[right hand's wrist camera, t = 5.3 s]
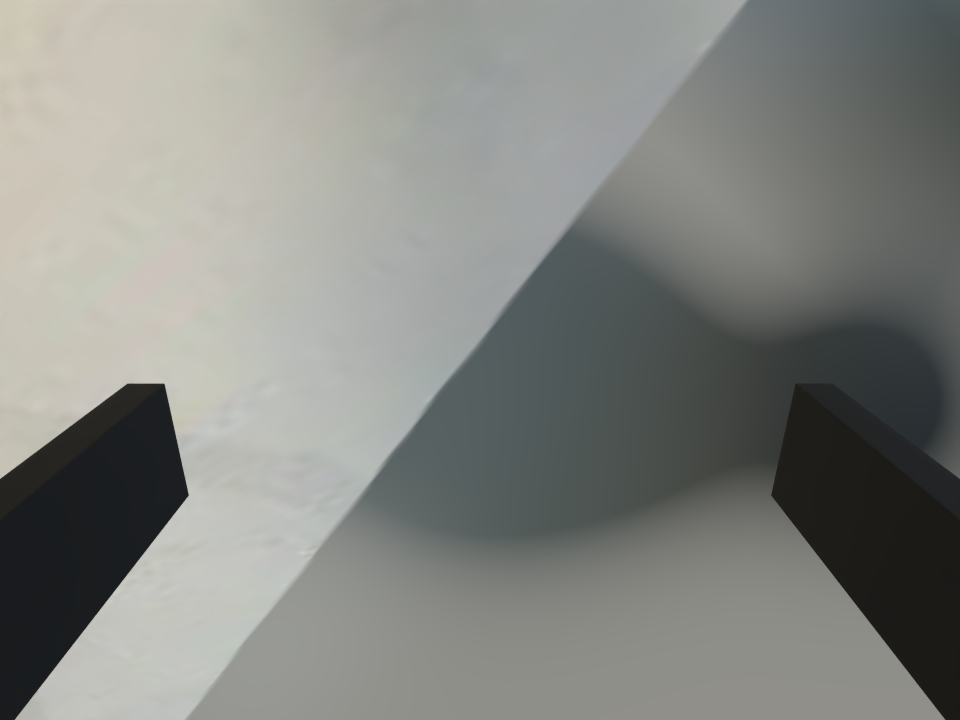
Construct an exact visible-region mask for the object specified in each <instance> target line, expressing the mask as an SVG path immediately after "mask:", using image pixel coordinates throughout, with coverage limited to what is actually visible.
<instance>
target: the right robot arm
mask: <svg viewBox="0 0 960 720" xmlns="http://www.w3.org/2000/svg"><path fill="white" fill-rule="evenodd" d="M188 496H189V494H188V490H187V485H186V481H185V476H184V471H183V467H182V462H181V458H180V453H179V448H178V444H177V439H176V435H175V430H174V425H173V421H172V416H171V412H170V407H169V403H168V398H167V393H166V389H165V384H127V385H125V386H124V387H123V388H121V389H120V390H118V391H117V392H116V393H114V394H113V395H112V396H110V397H109V398H108V399H106V400H105V401H104V402H102V403H101V404H100V405H98V406H97V407H96V408H94V409H93V410H92V411H90V412H89V413H88V414H86V415H85V416H84V417H82V418H81V419H80V420H78V421H77V422H76V423H74V424H73V425H72V426H70V427H69V428H68V429H66V430H65V431H64V432H62V433H61V434H60V435H58V436H57V437H56V438H54V439H53V440H52V441H50V442H49V443H48V444H46V445H45V446H44V447H42V448H41V449H40V450H38V451H37V452H36V453H34V454H33V455H32V456H30V457H29V458H28V459H26V460H25V461H24V462H22V463H21V464H20V465H18V466H17V467H16V468H14V469H13V470H12V471H10V472H9V473H8V474H6V475H5V476H4V477H2V478H1V479H0V720H15V719H16V717H17V716H18V715H19V713H20V712H21V711H22V710H23V708H24V707H25V706H26V704H27V703H28V702H29V701H30V699H31V698H32V697H33V695H34V694H35V693H36V692H37V690H38V689H39V688H40V686H41V685H42V684H43V683H44V681H45V680H46V679H47V677H48V676H49V675H50V673H51V672H52V671H53V670H54V668H55V667H56V666H57V664H58V663H59V662H60V661H61V659H62V658H63V657H64V655H65V654H66V653H67V652H68V650H69V649H70V648H71V646H72V645H73V644H74V643H75V641H76V640H77V639H78V637H79V636H80V635H81V634H82V632H83V631H84V630H85V628H86V627H87V626H88V625H89V623H90V622H91V621H92V619H93V618H94V617H95V615H96V614H97V613H98V612H99V610H100V609H101V608H102V606H103V605H104V604H105V603H106V601H107V600H108V599H109V597H110V596H111V595H112V594H113V592H114V591H115V590H116V588H117V587H118V586H119V585H120V583H121V582H122V581H123V579H124V578H125V577H126V576H127V574H128V573H129V572H130V570H131V569H132V568H133V567H134V565H135V564H136V563H137V561H138V560H139V559H140V557H141V556H142V555H143V554H144V552H145V551H146V550H147V548H148V547H149V546H150V545H151V543H152V542H153V541H154V539H155V538H156V537H157V536H158V534H159V533H160V532H161V530H162V529H163V528H164V527H165V525H166V524H167V523H168V521H169V520H170V519H171V518H172V516H173V515H174V514H175V512H176V511H177V510H178V509H179V507H180V506H181V505H182V503H183V502H184V501H185V500H186V498H187V497H188ZM771 496H772V497H773V498H774V500H775V501H776V502H777V503H778V505H779V506H780V507H781V509H782V510H783V511H784V512H785V514H786V515H787V516H788V517H789V519H790V520H791V521H792V523H793V524H794V525H795V526H796V528H797V529H798V530H799V532H800V533H801V534H802V536H803V537H804V538H805V539H806V541H807V542H808V543H809V544H810V546H811V547H812V548H813V550H814V551H815V552H816V554H817V555H818V556H819V557H820V559H821V560H822V561H823V563H824V564H825V565H826V566H827V568H828V569H829V570H830V572H831V573H832V574H833V576H834V577H835V578H836V579H837V581H838V582H839V583H840V585H841V586H842V587H843V588H844V590H845V591H846V592H847V593H848V595H849V596H850V597H851V599H852V600H853V601H854V603H855V604H856V605H857V606H858V608H859V609H860V610H861V612H862V613H863V614H864V615H865V617H866V618H867V619H868V621H869V622H870V623H871V624H872V626H873V627H874V628H875V630H876V631H877V632H878V634H879V635H880V636H881V637H882V639H883V640H884V641H885V643H886V644H887V645H888V646H889V648H890V649H891V650H892V651H893V653H894V654H895V655H896V657H897V658H898V659H899V661H900V662H901V663H902V664H903V666H904V667H905V668H906V670H907V671H908V672H909V673H910V675H911V676H912V677H913V679H914V680H915V681H916V683H917V684H918V685H919V686H920V688H921V689H922V690H923V691H924V693H925V694H926V695H927V697H928V698H929V699H930V700H931V702H932V703H933V704H934V706H935V707H936V708H937V710H938V711H939V712H940V713H941V715H942V716H943V717H944V719H945V720H960V479H959V478H958V477H956V476H955V475H954V474H952V473H951V472H950V471H948V470H947V469H946V468H944V467H943V466H942V465H940V464H939V463H938V462H936V461H935V460H934V459H932V458H931V457H930V456H928V455H927V454H926V453H924V452H923V451H922V450H920V449H919V448H918V447H916V446H915V445H914V444H912V443H911V442H910V441H908V440H907V439H906V438H904V437H903V436H902V435H900V434H899V433H898V432H896V431H895V430H894V429H892V428H891V427H890V426H888V425H887V424H886V423H884V422H883V421H881V420H880V419H879V418H878V417H876V416H875V415H874V414H872V413H871V412H870V411H868V410H867V409H866V408H864V407H863V406H862V405H860V404H859V403H857V402H856V401H855V400H854V399H852V398H851V397H850V396H848V395H847V394H845V393H844V392H843V391H842V390H840V389H839V388H837V387H836V386H835V385H833V384H795V389H794V393H793V398H792V403H791V407H790V412H789V416H788V421H787V425H786V430H785V435H784V439H783V444H782V448H781V453H780V458H779V462H778V467H777V471H776V476H775V481H774V485H773V490H772V494H771Z"/></svg>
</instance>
